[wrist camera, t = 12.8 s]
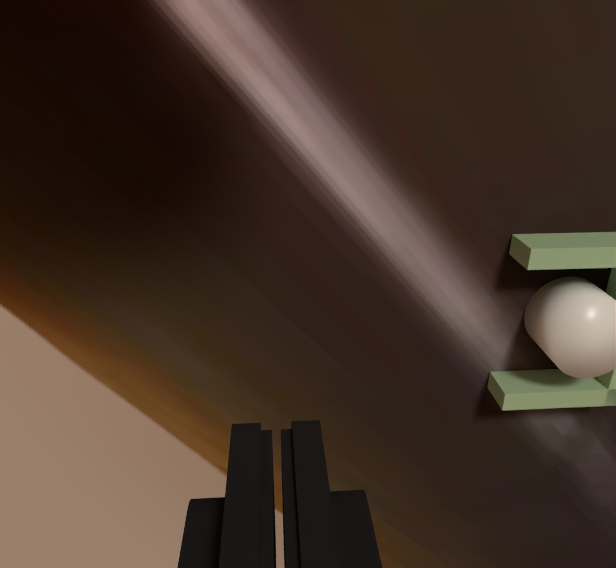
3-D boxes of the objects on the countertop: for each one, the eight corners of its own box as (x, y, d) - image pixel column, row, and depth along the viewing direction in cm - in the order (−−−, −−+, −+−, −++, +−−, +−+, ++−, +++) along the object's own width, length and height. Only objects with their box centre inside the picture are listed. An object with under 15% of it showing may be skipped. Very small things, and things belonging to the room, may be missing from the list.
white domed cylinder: (534, 274, 40) (565, 300, 35) (610, 277, 40) (650, 304, 36) (515, 344, 42) (542, 377, 38) (588, 347, 43) (622, 379, 38)
